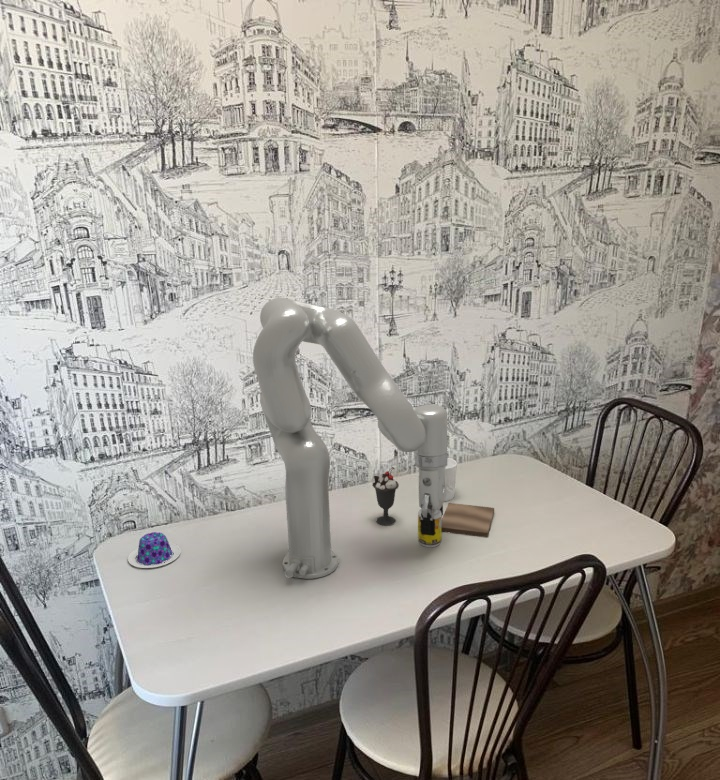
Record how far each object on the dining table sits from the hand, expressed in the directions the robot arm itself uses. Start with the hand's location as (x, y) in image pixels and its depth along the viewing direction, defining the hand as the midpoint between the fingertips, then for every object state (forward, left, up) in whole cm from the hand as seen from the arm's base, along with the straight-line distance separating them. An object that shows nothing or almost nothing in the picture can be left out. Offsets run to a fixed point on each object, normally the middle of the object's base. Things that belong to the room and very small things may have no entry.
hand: (432, 524), depth 163 cm
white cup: (+26, +3, -5) cm, 26 cm away
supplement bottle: (0, +1, -5) cm, 5 cm away
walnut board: (+13, -6, -5) cm, 15 cm away
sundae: (+8, +14, -5) cm, 16 cm away
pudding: (-23, +62, -5) cm, 66 cm away
